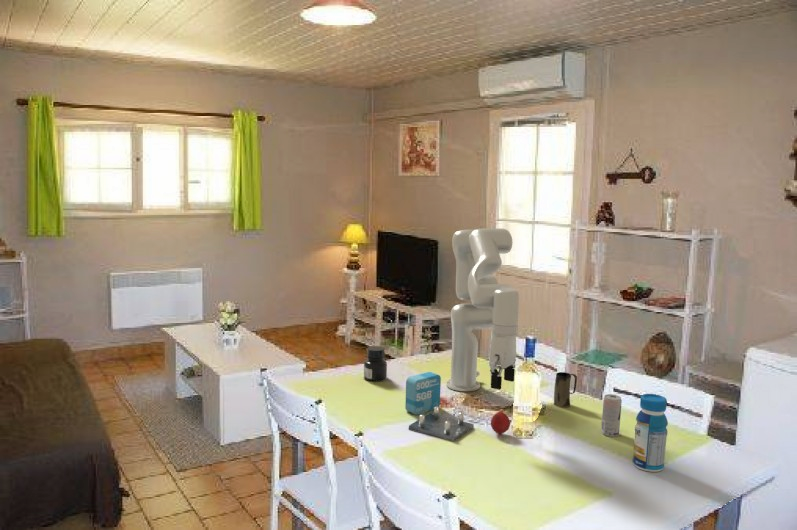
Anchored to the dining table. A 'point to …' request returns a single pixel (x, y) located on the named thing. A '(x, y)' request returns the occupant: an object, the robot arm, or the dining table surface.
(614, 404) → the energy drink
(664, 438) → the beverage bottle
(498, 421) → the onion
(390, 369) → the dining table surface
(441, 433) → the grey pegged plate
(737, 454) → the dining table surface
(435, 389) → the data package
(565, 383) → the mug
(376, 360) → the ink bottle
